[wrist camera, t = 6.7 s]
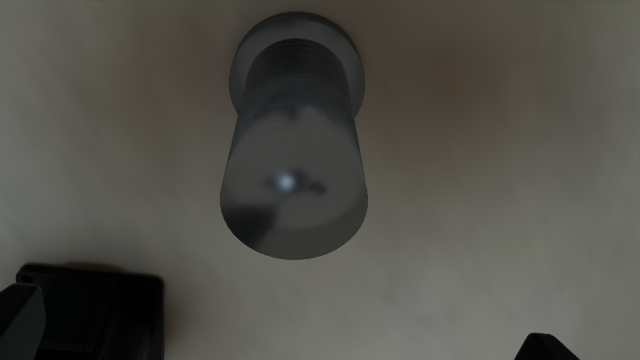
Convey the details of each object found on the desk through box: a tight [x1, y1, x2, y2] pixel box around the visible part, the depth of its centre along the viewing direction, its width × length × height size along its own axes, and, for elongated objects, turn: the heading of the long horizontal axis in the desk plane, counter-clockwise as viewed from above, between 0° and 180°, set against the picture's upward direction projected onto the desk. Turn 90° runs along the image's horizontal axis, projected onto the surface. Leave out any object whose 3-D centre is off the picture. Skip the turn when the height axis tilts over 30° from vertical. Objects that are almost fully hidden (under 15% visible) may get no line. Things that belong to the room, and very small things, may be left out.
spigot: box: [220, 12, 368, 260], centre depth 16 cm, size 5×5×8 cm
